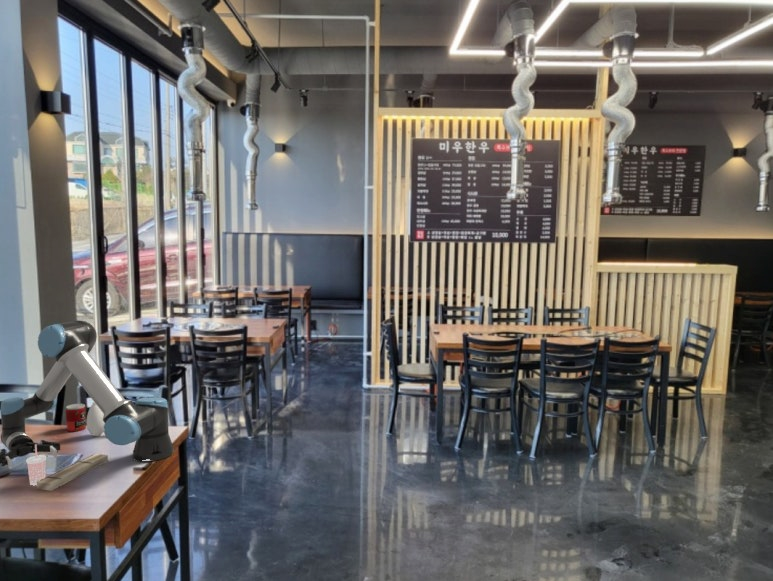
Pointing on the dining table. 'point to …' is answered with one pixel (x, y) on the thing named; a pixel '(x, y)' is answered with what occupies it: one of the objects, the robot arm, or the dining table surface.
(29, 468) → the beverage cup
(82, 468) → the maple strip
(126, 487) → the dining table surface
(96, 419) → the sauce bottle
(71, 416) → the canned food
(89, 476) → the dining table surface
